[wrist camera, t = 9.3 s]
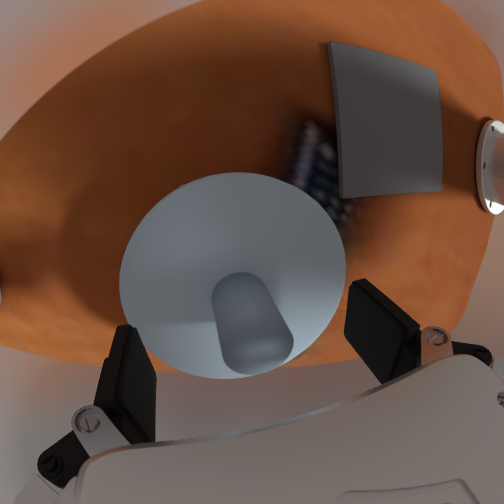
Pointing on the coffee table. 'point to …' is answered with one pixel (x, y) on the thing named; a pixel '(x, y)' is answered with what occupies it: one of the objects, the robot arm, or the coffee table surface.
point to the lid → (232, 275)
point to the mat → (385, 123)
